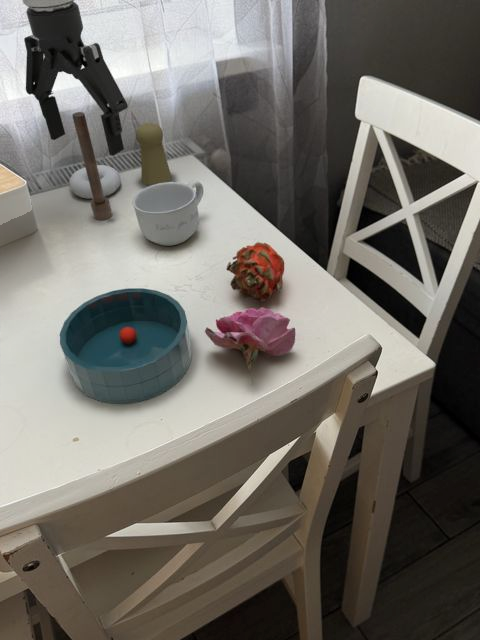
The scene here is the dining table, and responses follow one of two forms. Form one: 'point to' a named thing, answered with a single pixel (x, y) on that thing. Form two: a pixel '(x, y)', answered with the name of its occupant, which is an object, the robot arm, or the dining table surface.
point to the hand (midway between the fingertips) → (86, 144)
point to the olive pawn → (152, 155)
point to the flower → (254, 333)
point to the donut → (107, 177)
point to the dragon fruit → (257, 271)
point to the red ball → (128, 335)
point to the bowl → (127, 345)
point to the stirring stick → (91, 169)
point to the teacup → (168, 211)
